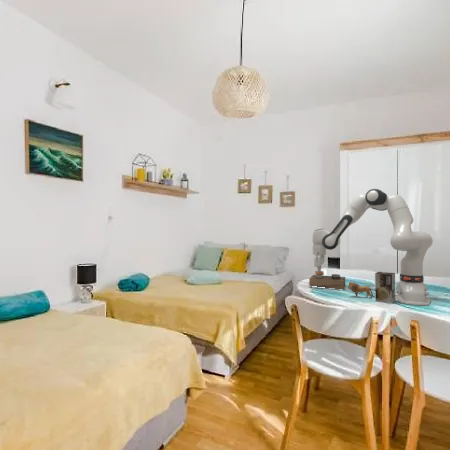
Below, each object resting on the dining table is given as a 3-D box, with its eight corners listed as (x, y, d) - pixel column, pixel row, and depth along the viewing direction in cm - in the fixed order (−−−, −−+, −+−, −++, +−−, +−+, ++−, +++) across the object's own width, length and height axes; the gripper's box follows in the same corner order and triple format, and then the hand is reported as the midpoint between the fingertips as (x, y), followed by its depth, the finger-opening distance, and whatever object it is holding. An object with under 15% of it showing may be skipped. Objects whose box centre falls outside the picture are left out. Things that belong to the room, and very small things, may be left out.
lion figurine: (348, 297, 188) (348, 282, 188) (348, 295, 193) (348, 280, 193) (375, 299, 183) (375, 284, 183) (374, 297, 188) (374, 282, 188)
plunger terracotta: (322, 284, 218) (322, 272, 218) (314, 283, 220) (314, 272, 220) (324, 282, 223) (324, 271, 223) (316, 281, 225) (315, 270, 225)
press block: (343, 290, 207) (343, 281, 207) (309, 287, 217) (309, 278, 217) (345, 285, 222) (345, 276, 222) (313, 283, 231) (313, 274, 231)
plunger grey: (339, 287, 213) (339, 275, 213) (331, 286, 216) (331, 275, 215) (340, 285, 218) (340, 274, 218) (332, 285, 221) (332, 273, 221)
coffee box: (395, 301, 178) (395, 272, 178) (392, 303, 174) (392, 274, 173) (378, 298, 184) (378, 271, 184) (374, 300, 180) (374, 272, 179)
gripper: (321, 253, 211) (321, 274, 211) (325, 250, 229) (325, 269, 229) (312, 253, 213) (312, 273, 214) (317, 250, 232) (317, 269, 232)
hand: (319, 271), depth 222 cm, fingers closed, pressing on plunger terracotta
